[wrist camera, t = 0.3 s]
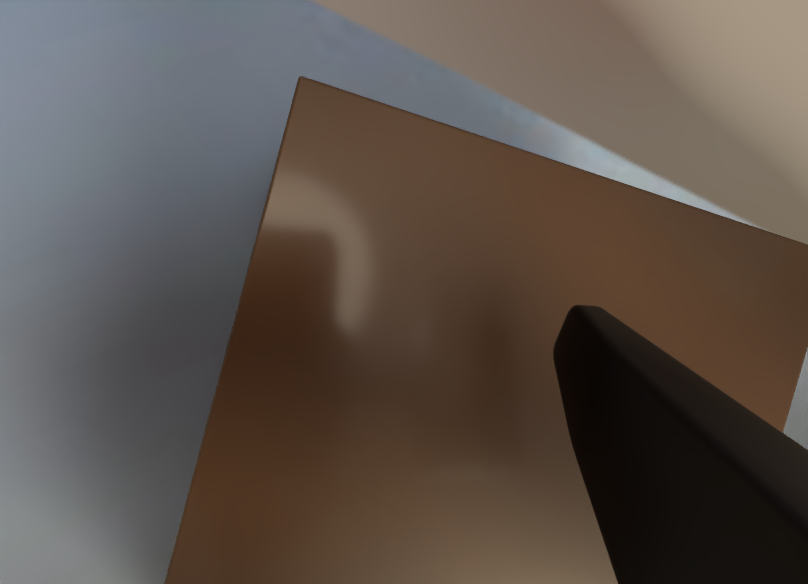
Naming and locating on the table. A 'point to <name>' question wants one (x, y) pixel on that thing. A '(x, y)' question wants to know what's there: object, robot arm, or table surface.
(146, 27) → the table surface
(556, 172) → the bedside cabinet
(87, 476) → the table surface
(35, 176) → the table surface
